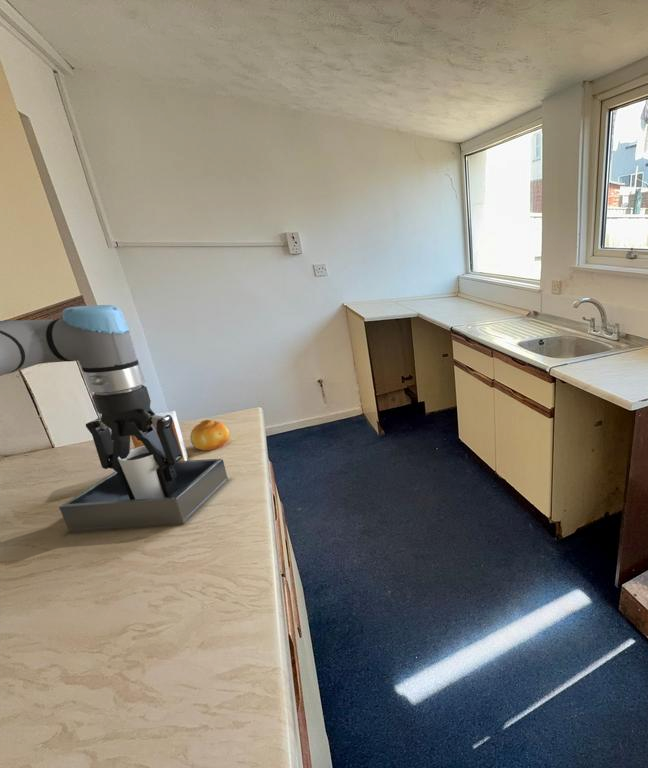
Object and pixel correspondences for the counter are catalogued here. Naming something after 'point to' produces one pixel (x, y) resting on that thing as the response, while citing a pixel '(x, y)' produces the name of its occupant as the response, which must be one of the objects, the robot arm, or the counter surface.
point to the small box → (176, 430)
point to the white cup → (142, 474)
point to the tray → (144, 500)
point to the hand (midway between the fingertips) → (154, 494)
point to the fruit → (209, 435)
